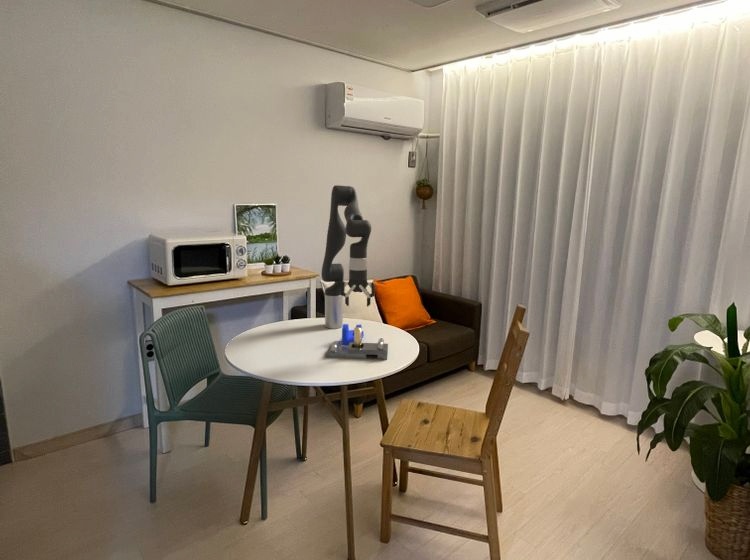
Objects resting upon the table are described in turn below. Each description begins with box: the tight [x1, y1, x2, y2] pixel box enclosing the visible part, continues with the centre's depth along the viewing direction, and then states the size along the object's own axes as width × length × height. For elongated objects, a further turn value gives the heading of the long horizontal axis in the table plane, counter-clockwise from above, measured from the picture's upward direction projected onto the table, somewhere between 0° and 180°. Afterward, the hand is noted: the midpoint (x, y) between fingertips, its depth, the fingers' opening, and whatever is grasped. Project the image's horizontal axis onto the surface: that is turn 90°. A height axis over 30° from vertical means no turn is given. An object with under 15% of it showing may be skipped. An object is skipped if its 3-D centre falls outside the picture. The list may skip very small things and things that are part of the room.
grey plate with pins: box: [325, 338, 389, 360], centre depth 191 cm, size 9×26×6 cm, turn 86°
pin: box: [353, 326, 362, 348], centre depth 190 cm, size 3×3×12 cm
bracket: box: [341, 323, 364, 346], centre depth 211 cm, size 18×8×9 cm, turn 175°
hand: (357, 305), depth 187 cm, fingers open, 8 cm apart
